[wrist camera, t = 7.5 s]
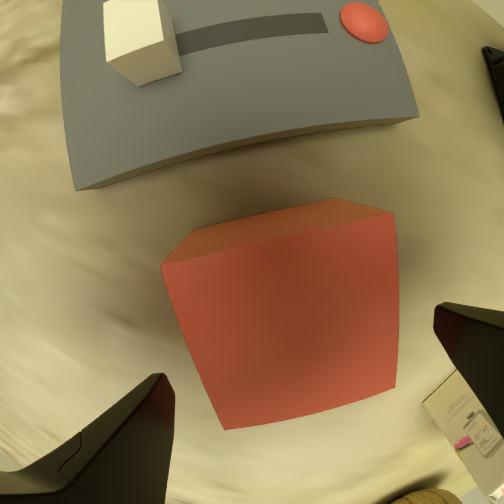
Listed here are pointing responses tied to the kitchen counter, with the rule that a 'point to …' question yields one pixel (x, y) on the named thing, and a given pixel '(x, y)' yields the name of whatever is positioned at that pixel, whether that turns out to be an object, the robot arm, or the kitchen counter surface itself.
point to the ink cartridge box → (470, 433)
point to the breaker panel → (228, 82)
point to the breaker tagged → (140, 40)
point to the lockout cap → (289, 309)
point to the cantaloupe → (429, 497)
